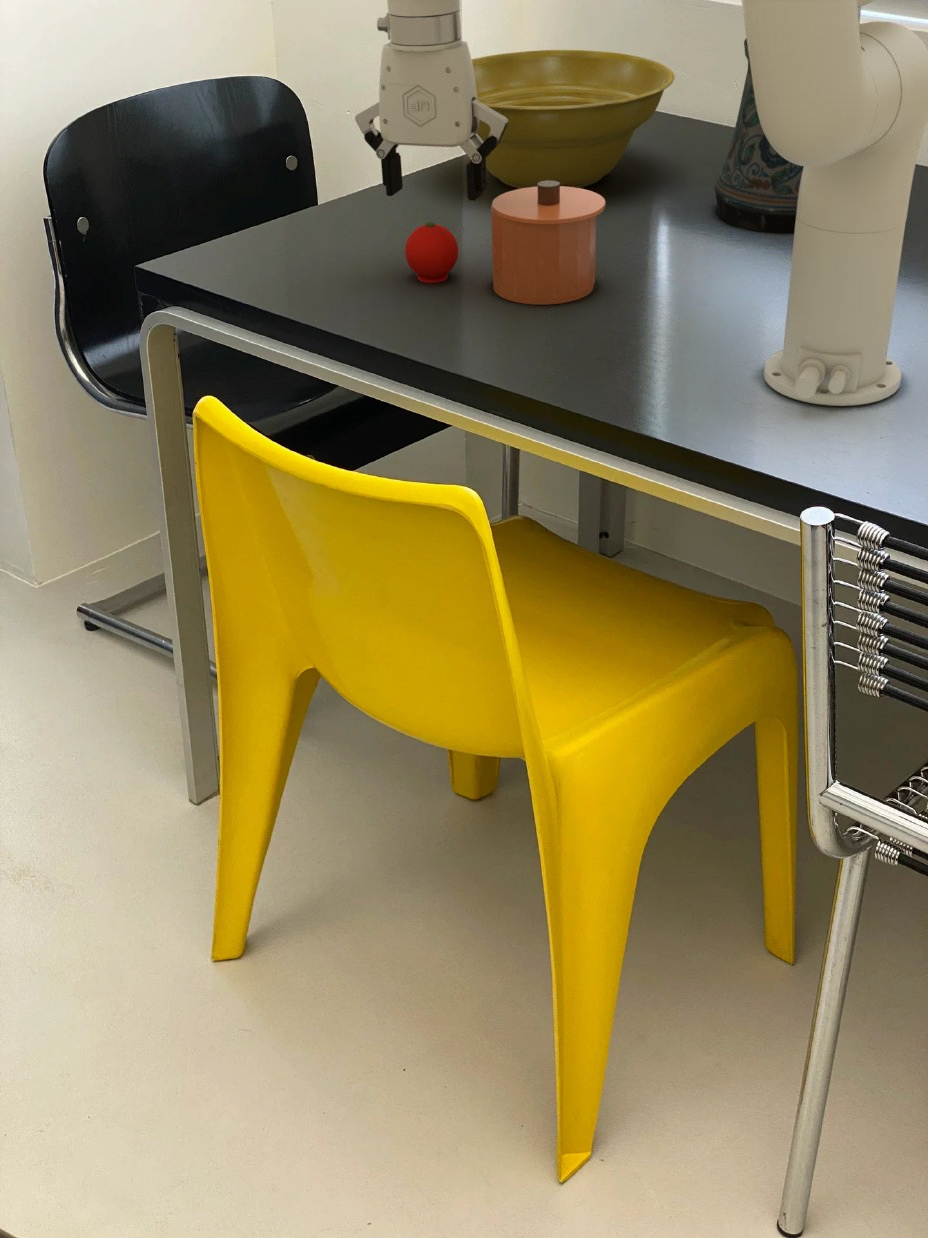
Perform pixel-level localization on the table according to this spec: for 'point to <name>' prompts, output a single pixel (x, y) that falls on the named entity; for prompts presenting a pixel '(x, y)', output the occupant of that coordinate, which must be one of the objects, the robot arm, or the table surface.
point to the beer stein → (756, 175)
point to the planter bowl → (565, 111)
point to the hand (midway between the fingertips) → (434, 194)
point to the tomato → (431, 252)
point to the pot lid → (548, 204)
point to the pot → (543, 260)
